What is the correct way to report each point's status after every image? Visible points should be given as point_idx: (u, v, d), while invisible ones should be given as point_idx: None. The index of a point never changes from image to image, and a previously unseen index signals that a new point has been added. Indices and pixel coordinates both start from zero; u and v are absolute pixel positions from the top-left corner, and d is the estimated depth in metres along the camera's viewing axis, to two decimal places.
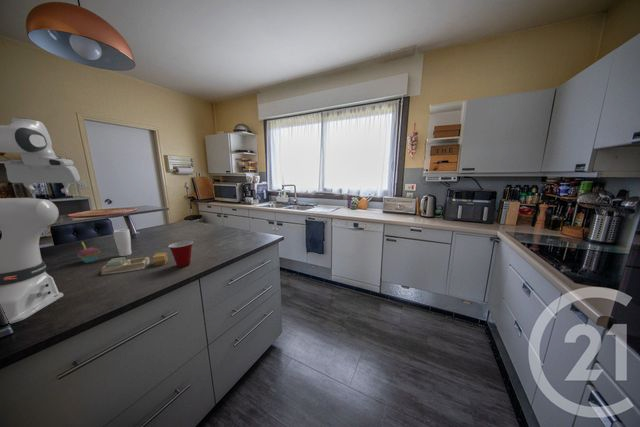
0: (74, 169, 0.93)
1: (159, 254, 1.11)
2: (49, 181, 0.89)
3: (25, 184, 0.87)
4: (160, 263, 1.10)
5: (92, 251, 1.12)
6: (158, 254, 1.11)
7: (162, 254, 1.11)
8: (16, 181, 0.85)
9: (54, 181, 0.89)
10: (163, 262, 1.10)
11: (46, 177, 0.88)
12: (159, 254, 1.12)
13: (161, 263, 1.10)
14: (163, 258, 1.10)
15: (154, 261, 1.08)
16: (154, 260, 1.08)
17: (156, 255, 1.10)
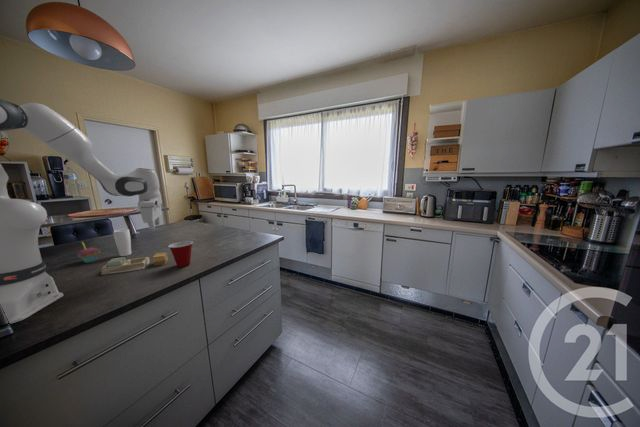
0: (147, 210, 0.98)
1: (159, 254, 1.11)
2: None
3: None
4: (160, 263, 1.10)
5: (92, 251, 1.12)
6: (158, 254, 1.11)
7: (162, 254, 1.11)
8: None
9: None
10: (163, 262, 1.10)
11: None
12: (159, 254, 1.12)
13: (161, 263, 1.10)
14: (163, 258, 1.10)
15: (154, 261, 1.08)
16: (154, 260, 1.08)
17: (156, 255, 1.10)
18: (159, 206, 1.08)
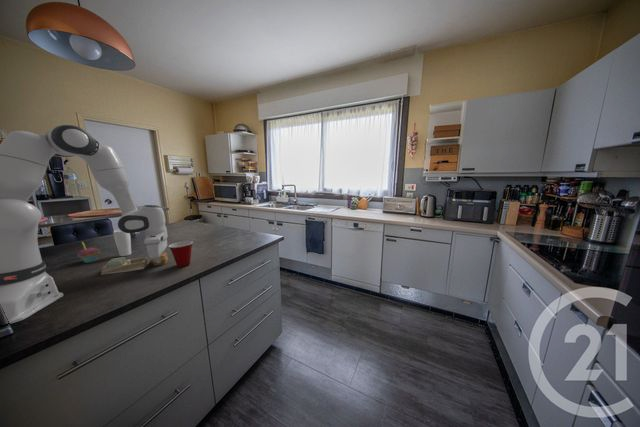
0: (153, 247, 1.01)
1: None
2: None
3: None
4: (160, 263, 1.10)
5: (92, 251, 1.12)
6: None
7: (162, 254, 1.11)
8: None
9: None
10: (163, 262, 1.10)
11: None
12: None
13: (161, 263, 1.10)
14: (163, 258, 1.10)
15: (154, 261, 1.08)
16: (154, 260, 1.08)
17: None
18: (165, 240, 1.11)
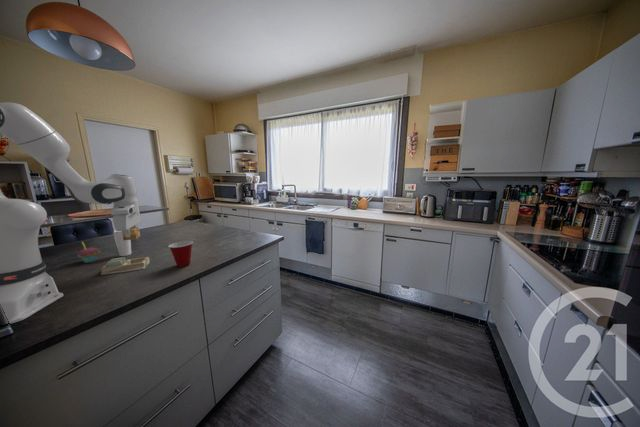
0: (120, 218, 0.94)
1: (130, 228, 1.04)
2: None
3: None
4: (130, 238, 1.02)
5: (92, 251, 1.12)
6: None
7: (133, 228, 1.04)
8: None
9: None
10: (134, 237, 1.03)
11: None
12: None
13: (131, 238, 1.03)
14: (134, 232, 1.03)
15: (123, 235, 1.01)
16: (123, 234, 1.01)
17: None
18: (136, 213, 1.04)
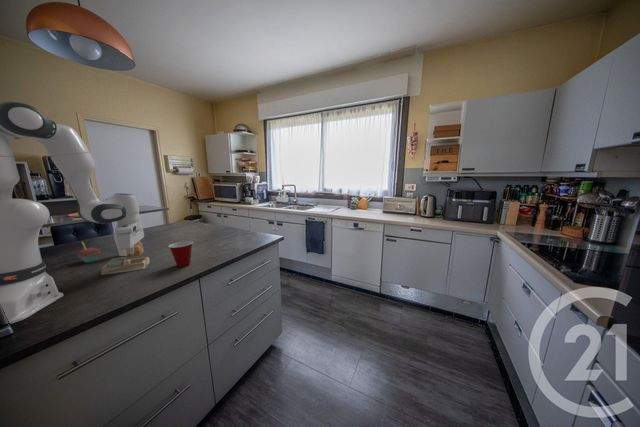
0: (124, 237, 0.96)
1: None
2: None
3: None
4: (134, 254, 1.05)
5: (92, 251, 1.12)
6: None
7: (137, 245, 1.06)
8: None
9: None
10: (137, 253, 1.05)
11: None
12: None
13: (135, 254, 1.05)
14: (137, 249, 1.05)
15: (128, 252, 1.03)
16: (128, 251, 1.03)
17: None
18: (139, 230, 1.06)
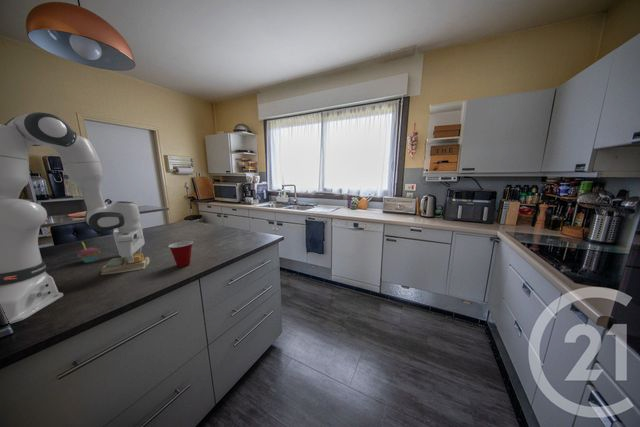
0: (125, 245, 0.97)
1: (134, 255, 1.07)
2: None
3: None
4: None
5: (92, 251, 1.12)
6: (133, 255, 1.07)
7: (137, 255, 1.07)
8: None
9: None
10: None
11: None
12: (134, 255, 1.07)
13: None
14: (138, 259, 1.05)
15: (128, 262, 1.04)
16: (128, 261, 1.04)
17: None
18: (140, 238, 1.06)
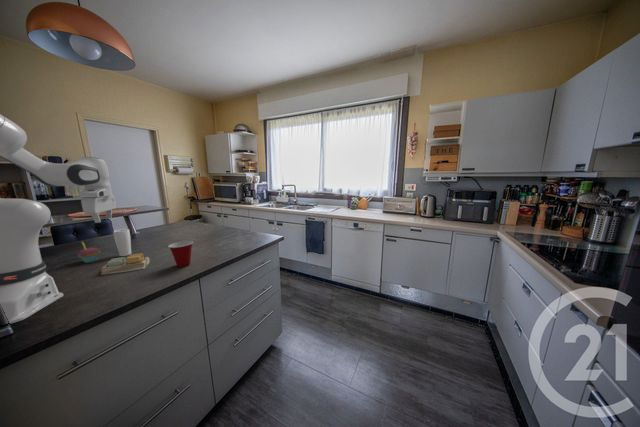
0: (89, 201, 0.92)
1: (134, 255, 1.07)
2: None
3: None
4: None
5: (92, 251, 1.12)
6: (133, 255, 1.07)
7: (137, 255, 1.07)
8: None
9: None
10: None
11: None
12: (134, 255, 1.07)
13: None
14: (138, 259, 1.05)
15: (128, 262, 1.04)
16: (128, 261, 1.04)
17: (131, 256, 1.05)
18: (108, 198, 1.01)
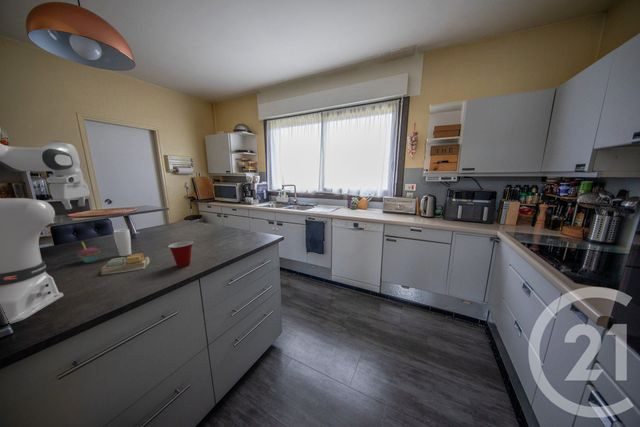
0: (58, 187, 0.90)
1: (134, 255, 1.07)
2: None
3: None
4: None
5: (92, 251, 1.12)
6: (133, 255, 1.07)
7: (137, 255, 1.07)
8: None
9: None
10: None
11: None
12: (134, 255, 1.07)
13: None
14: (138, 259, 1.05)
15: (128, 262, 1.04)
16: (128, 261, 1.04)
17: (131, 256, 1.05)
18: (80, 184, 0.99)
